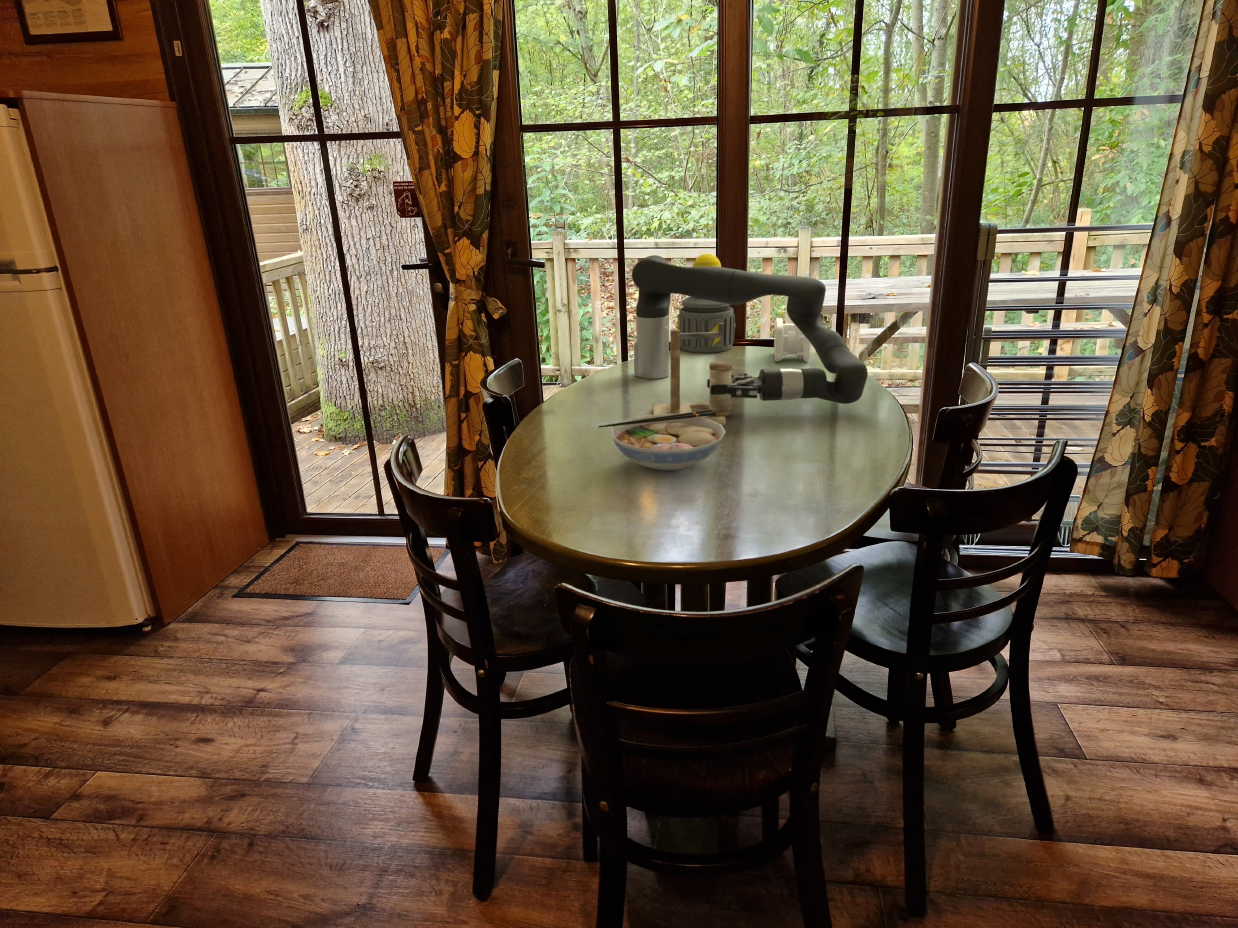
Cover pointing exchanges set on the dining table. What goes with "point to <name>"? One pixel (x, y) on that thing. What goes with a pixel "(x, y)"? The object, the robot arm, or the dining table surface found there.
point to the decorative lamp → (706, 318)
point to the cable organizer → (789, 341)
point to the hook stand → (675, 377)
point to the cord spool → (720, 376)
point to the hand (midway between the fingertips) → (709, 386)
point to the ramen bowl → (668, 439)
